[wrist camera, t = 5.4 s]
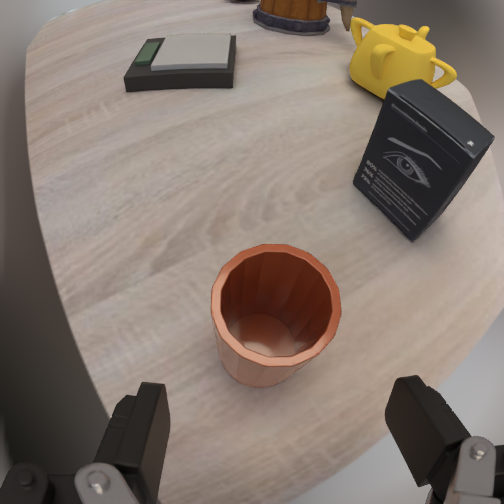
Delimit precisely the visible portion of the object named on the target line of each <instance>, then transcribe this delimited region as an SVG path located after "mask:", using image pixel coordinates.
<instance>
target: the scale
mask: <svg viewBox="0 0 504 504" xmlns="http://www.w3.org/2000/svg"><path fill="white" fill-rule="evenodd" d="M235 50H236V36H231V33H200V34H177V35H167V37H166V38H155V39H147V41H146V42H145V44H144V45H143V47H142V48H141V50H140V51H139V53H138V55H137V56H136V58H135V59H134V61H133V63H132V64H131V66H130V68H129V69H128V71H127V73H126V74H125V76H124V83H125V87H126V92H132V91H143V90H157V89H177V88H233V75H234V62H235Z"/></svg>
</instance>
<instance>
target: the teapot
mask: <svg viewBox="0 0 504 504" xmlns="http://www.w3.org/2000/svg"><path fill="white" fill-rule="evenodd" d="M362 26H364V27H366V28H368V29H370V30H369V32H368V33H367V34H366V35H365V37H364V38H363V39H362V33H361V27H362ZM350 27H351V32H352V35H353V38H354V40H355V43H356V45H357V49H356V50H355V52H354V54H353V57H352V59H351V62H350V66H349V70H350V75H351V78H352V80H353V81H355V82H356V83H357V84H359V85H360V86H362V87H364V88H365V89H367V90H369V91H370V92H372V93H374V94H375V95H377V96H379V97H380V98H382V99H385V96H386V93H387V90H388V89H389V88H390V87H393V86H395V85H398V84H401V83H404V82H407V81H411V80H416V79H422V80H424V81H425V82H427V83H428V84H429V85H431V86H432V87H434V88H435V89H436V88H440V87H443V86H446V85H448V84H450V83H452V82H453V81H454V80H455V79H456V77H457V73H456V71H455V70H454V69H453V68H452V67H451V66H449V65H448V64H446V63H444V62H443V61H440V60H438V59H436V58H435V57H436V49H435V47H434V46H433V45H432V44H431V43H429V42H428V41H426V40H425V38H426V35H427V33H428V32H429V28H428V27H427V26H422V27H421V28H420V29H419V31H418V32H417V31H415V30H414V29H413V28H410V27H409V26H406V25H399V26H396V25H392V24H383V25H382V24H381V25H377V26H374V25H373V24H371V23H369V22H367V21H366V20H363V19H361V18H353V19H352V20H351V22H350ZM435 65H437V66H439V67H440V68H442V69H443V70H444V75H443V76H442V77H441V78H439V79H438V80H436V81H434V82H432V81H433V77H434V72H435Z"/></svg>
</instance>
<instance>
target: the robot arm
mask: <svg viewBox="0 0 504 504" xmlns="http://www.w3.org/2000/svg"><path fill="white" fill-rule="evenodd" d="M385 421H386V424H387V426H388V428H389V430H390V432H391V434H392V436H393V438H394V439H395V442H396V443H397V445H398V447H399V449H400V451H401V453H402V455H403V457H404V459H405V461H406V463H407V465H408V467H409V469H410V471H411V473H412V475H413V478H414V479H415V482H416V484H417V486H418V487H421V486H424V485H427V484H430V485H431V487H432V488H431V490H430V491H429V493H428V497H427V500H426V503H425V504H504V445H498V446H494V445H493V444H492V443H491V442H490V441H489V440H487V439H485V438H483V437H479V436H473V437H472V436H471V435H470V434H469V432H468V431H467V429H466V428H465V427H464V425H463V424H462V423H461V421H460V420H459V418H458V417H457V416H456V414H455V413H454V412H453V411H452V409H451V408H450V406H449V405H448V404H446V401H445V400H444V398H443V397H442V396H441V395H440V393H438V392H437V391H435V390H434V389H433V388H431V387H430V386H426V385H425V384H424V382H423V381H422V380H421V378H420V377H419V376H417V375H414V376H407V377H400V378H398V379H397V380H396V381H395V383H394V386H393V389H392V392H391V395H390V398H389V401H388V403H387V406H386V409H385ZM169 433H170V412H169V406H168V400H167V393H166V387H165V384H160V383H149V382H142V383H141V385H140V388H139V390H138V393H137V396H132V395H126V396H125V397H124V398H123V399H122V400H121V401H120V402H118V403H117V405H116V407H115V409H114V412H113V414H112V418H111V419H110V421H109V424H108V427H107V429H106V431H105V434H104V437H103V439H102V441H101V444H100V446H99V449H98V451H97V454H96V457H95V459H94V461H93V463H92V464H88V465H86V466H84V467H82V468H81V469H80V470H79V471H78V472H77V474H71V475H54V474H53V475H52V474H46V472H45V471H44V470H43V468H42V467H40V466H39V465H37V464H35V463H31V462H23V463H19V464H17V465H15V466H13V467H12V468H11V469H10V470H9V471H8V474H7V475H6V477H5V480H4V482H3V484H2V487H1V488H0V504H156V501H157V496H158V490H159V485H160V479H161V474H162V469H163V463H164V458H165V453H166V448H167V443H168V438H169Z"/></svg>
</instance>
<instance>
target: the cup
mask: <svg viewBox="0 0 504 504" xmlns="http://www.w3.org/2000/svg"><path fill="white" fill-rule="evenodd" d="M341 312H342V311H341V302H340V294H339V290H338V287H337V285H336V283H335V281H334V279H333V278H332V276H331V274H330V272H329V270H328V269H327V268H326V267H325V266H324V265H323V264H322V263H320V262H319V261H318V260H317V259H316V258H315V257H313V256H312V255H311V254H309V253H308V252H305V251H303V250H300V249H297V248H295V247H292V246H289V245H285V244H262V245H259V246H256V247H253V248H250V249H247V250H244V251H241V252H240V253H238V254H237V255H236V256H235V257H234V258H232V259H231V260H230V261H229V262H228V263H227V264H225V265H224V266H223V267H222V269H221V271H220V273H219V275H218V277H217V279H216V281H215V283H214V285H213V287H212V291H211V317H212V322H213V327H214V333H215V338H216V343H217V348H218V353H219V356H220V359H221V362H222V364H223V366H224V368H225V370H226V371H227V373H228V374H229V375H230V376H231V377H232V378H233V379H235V380H236V381H238V382H239V383H241V384H243V385H246V386H249V387H255V388H264V387H270V386H273V385H276V384H278V383H280V382H282V381H284V380H285V379H287V378H288V377H289V376H291V375H292V374H293V373H295V372H296V371H298V370H299V369H300V368H302V367H303V366H304V365H306V364H307V363H308V362H310V361H311V360H312V359H313V358H315V357H316V356H317V355H319V354H320V352H321V351H322V350H323V349H324V348H325V347H326V346H327V345H328V343H329V342H330V341H331V340H332V339H333V338H334V336H335V334H336V330H337V327H338V324H339V321H340V317H341Z"/></svg>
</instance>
